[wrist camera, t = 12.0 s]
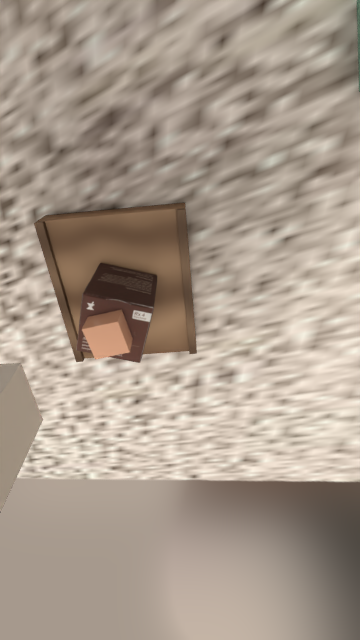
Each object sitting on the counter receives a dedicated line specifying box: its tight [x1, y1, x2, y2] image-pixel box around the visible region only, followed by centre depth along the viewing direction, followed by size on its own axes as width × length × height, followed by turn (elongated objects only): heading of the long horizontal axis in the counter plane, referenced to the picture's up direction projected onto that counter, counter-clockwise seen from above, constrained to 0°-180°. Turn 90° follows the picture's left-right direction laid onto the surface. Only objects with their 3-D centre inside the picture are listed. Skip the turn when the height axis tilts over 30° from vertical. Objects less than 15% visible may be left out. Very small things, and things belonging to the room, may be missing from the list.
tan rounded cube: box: [82, 310, 133, 359], centre depth 28 cm, size 3×3×2 cm
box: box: [76, 263, 157, 363], centre depth 32 cm, size 6×6×7 cm
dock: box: [34, 203, 197, 362], centre depth 36 cm, size 16×14×3 cm
